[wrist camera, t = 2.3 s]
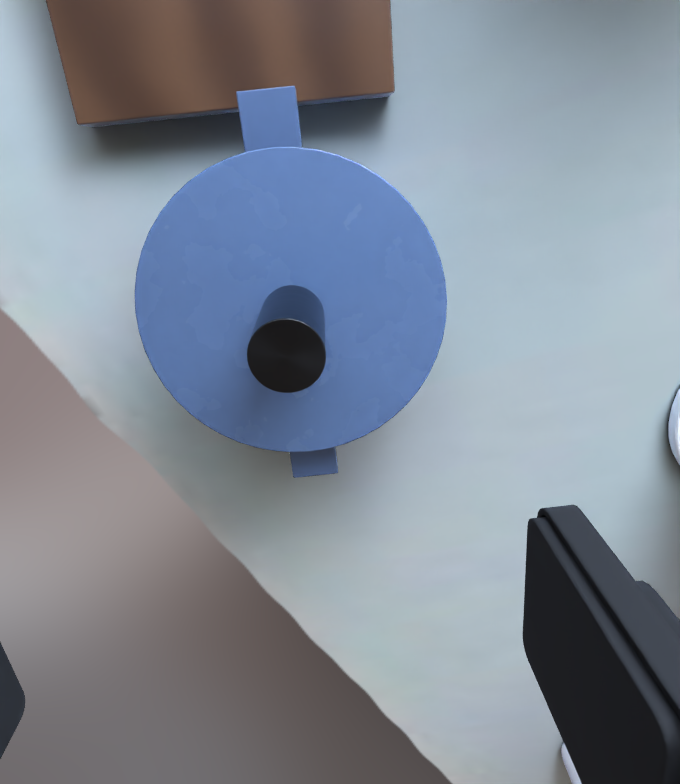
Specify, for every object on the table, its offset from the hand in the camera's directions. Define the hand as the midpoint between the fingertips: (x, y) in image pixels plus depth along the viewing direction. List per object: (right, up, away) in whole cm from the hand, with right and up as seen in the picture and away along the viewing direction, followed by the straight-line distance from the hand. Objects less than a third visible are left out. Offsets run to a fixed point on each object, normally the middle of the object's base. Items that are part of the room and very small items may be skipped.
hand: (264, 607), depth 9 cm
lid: (-1, +7, +16) cm, 17 cm away
